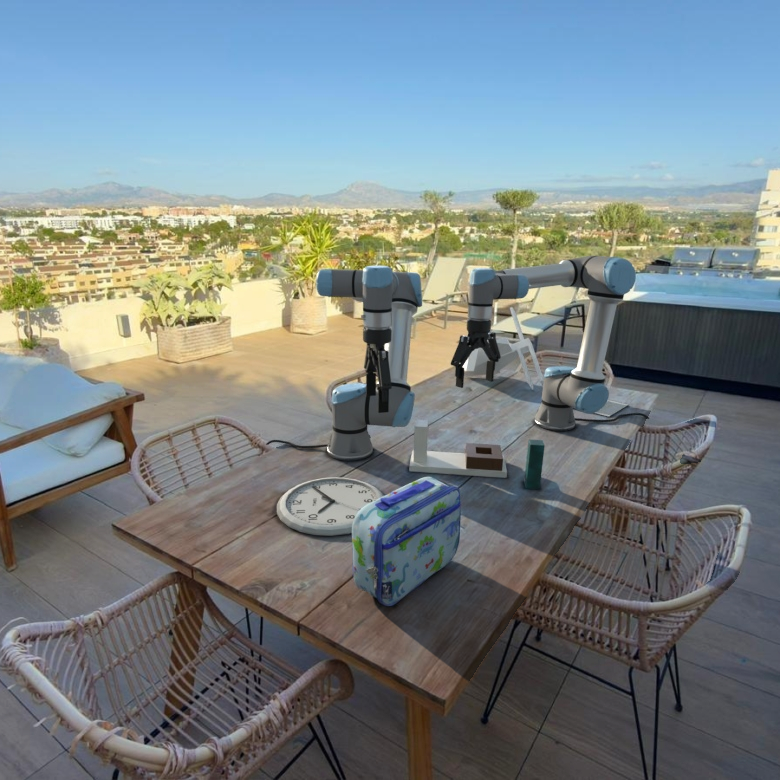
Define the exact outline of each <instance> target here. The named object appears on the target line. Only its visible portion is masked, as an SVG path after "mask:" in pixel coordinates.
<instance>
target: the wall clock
mask: <svg viewBox="0 0 780 780" xmlns="http://www.w3.org/2000/svg"><path fill="white" fill-rule="evenodd" d="M383 496H385V494H384V493H383V492H382V491H381V490H380V489H379V488H377V487H376V486H374V485H372V484H371V483H369V482H365V481H362V480H359V479H355V478H349V477H338V476H337V477H335V476H333V477H332V476H331V477H322V478H317V479H312V480H307V481H305V482H302V483H299V484H297V485H295V486H293V487H292V488H290V489H288V490H287V491H286V492H285V493H284V494H283V495H281V496H280V498H279V499H278V502H277V503H276V515H277V517H278V518H279V520H280V521H281V522H282V523H283V524H285V525H286V526H287V527H288V528H290V529H293V530H295V531H297V532H299V533H303V534H308V535H312V536H327V537H328V536H329V537H331V536H332V537H333V536H342V535H350V534H352V526H353V521H354V518H355V516H356V515H357V513H358V512H359V510H360V509H361V508H362V507H364V506H365V505H367V504H369V503H371V502H373V501H375V500H377V499H379V498H381V497H383Z"/></svg>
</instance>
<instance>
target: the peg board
mask: <svg viewBox="0 0 780 780" xmlns="http://www.w3.org/2000/svg"><path fill="white" fill-rule="evenodd" d="M413 434H414V435H413V449H412V451H411V456H410V460H409V465H408V466H409V469H408V470H409V472H414V473H427V474H428V473H429V474H430V473H431V474H442V475H443V474H445V475H446V474H447V475H458V476H472V477H473V476H474V477H485V478H486V477H487V478H502V479H507V478H508V470H507V464H506V460H505V456H504V455H503V452H502V448H501V447H502V446H501V444H492V443H491V444H490V443H474V442H465V453H464V452H449V451H433V450H432V451H431V450H428V442H429V441H428V438H429V420H428V419H426V420H425V419H415V422H414V429H413Z"/></svg>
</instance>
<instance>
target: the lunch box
mask: <svg viewBox="0 0 780 780" xmlns="http://www.w3.org/2000/svg"><path fill="white" fill-rule="evenodd" d="M461 499H462V497H461V491H460V489H459V488H458V487H457V486H455V485H450V486H449V485H447V484H445V483H444V482H442V481H440V480H438V479H436V478H434V477H432V476H424V477H421V478H419V479H416V480H414V481H412V482H410V483H407V484H405V485H404V486H401V487H399V488H397V489H395V490H392V491H391V492H390V493H386V494H384V496H383V497H381V498H379V499H377V500H375V501H373V502H371V503H369V504H367V505H365V506H364V507H362V508H361V509H360V510H359V512H358V513H357V515H356V516H355V518H354V521H353V526H352V533H351V550H352V576H353V581H354V584H355V587H356V588H358V589H360V590H362V591H364V592H366V593H368V594H370V596H372V597H374V598H375V599H377V601H378V603H379V604H382V605H383V606H385V607H393V606H394V605H396V604H397V603H399V602H400V601H402V599H404V598H405V597H406V596H407V595H409V594H410V593H411V592H413V591H414V590H415V589H416V588H418V587H419V586H420V585H422V584H423V583H424V582H425V581H427V580H428V579H429V578H430V577H432V575H434V574H435V573H437V572H439V571H441V570H442V569H443V568H445V567H446V566H448V565H449V564H450V562H452V560H453V559H454V557H455V555H456V553H457V551H458V549H459V544H460V537H461V519H462V515H461V513H462V512H461V510H462V507H461V505H462V504H461V503H462V502H461Z"/></svg>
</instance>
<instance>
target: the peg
mask: <svg viewBox="0 0 780 780" xmlns="http://www.w3.org/2000/svg"><path fill="white" fill-rule="evenodd" d="M545 447H546V446H545V442H544V441H543V439H528V441H527V451H526V461H525V470H524V471H525V472H524V481H523V483H524V486H525V489H529V490H540V489H541V481H542V474H543V473H542V471H543V464H544V454H545Z"/></svg>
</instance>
